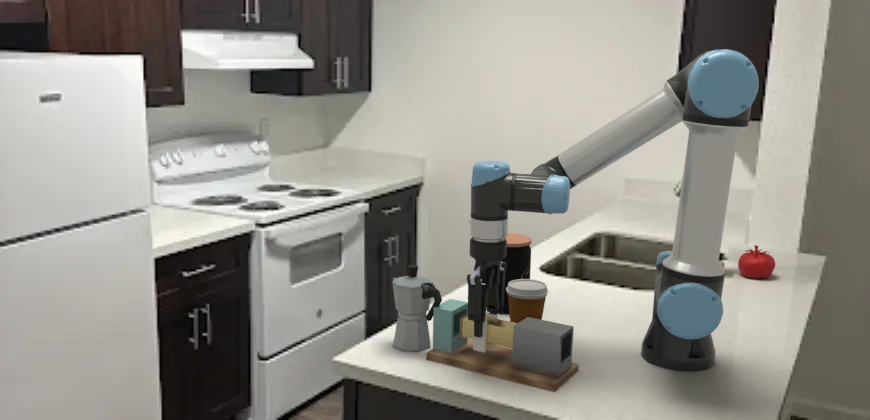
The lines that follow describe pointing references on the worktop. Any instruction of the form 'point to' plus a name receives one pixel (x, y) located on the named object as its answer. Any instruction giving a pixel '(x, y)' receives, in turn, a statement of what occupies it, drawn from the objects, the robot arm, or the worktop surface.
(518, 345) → the sleeve
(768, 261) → the pomegranate
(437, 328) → the socket
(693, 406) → the worktop surface
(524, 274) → the coffee jar
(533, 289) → the disposable coffee cup
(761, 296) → the worktop surface
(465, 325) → the wooden crossbeam
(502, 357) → the board
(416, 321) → the coffee maker
